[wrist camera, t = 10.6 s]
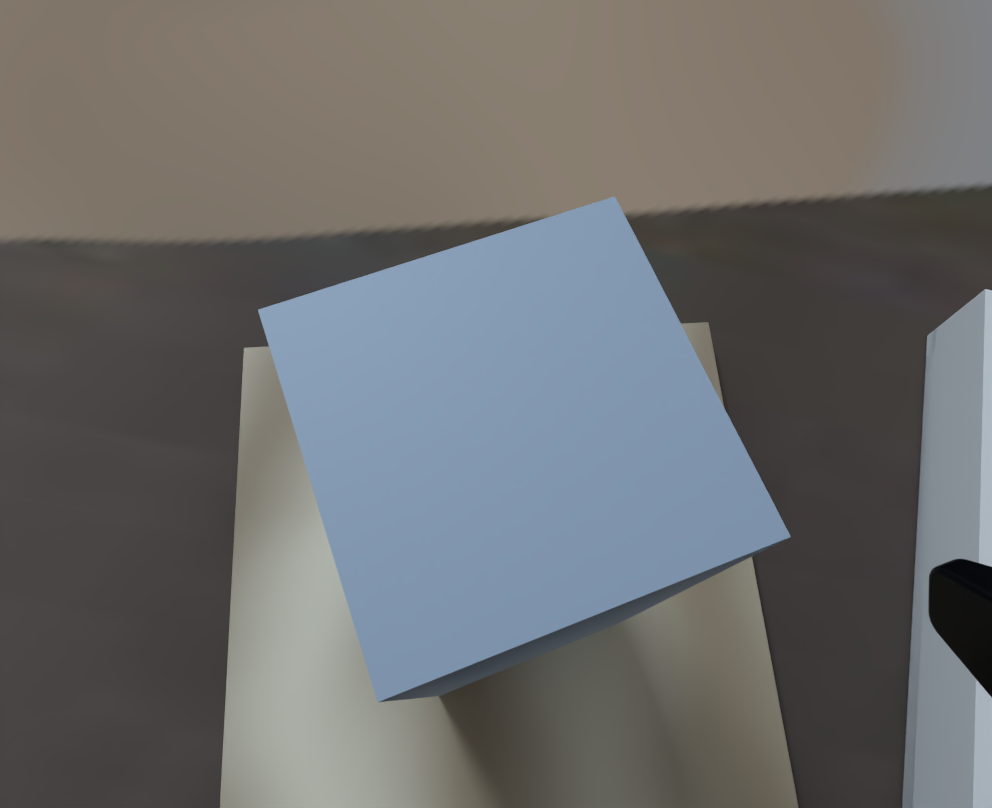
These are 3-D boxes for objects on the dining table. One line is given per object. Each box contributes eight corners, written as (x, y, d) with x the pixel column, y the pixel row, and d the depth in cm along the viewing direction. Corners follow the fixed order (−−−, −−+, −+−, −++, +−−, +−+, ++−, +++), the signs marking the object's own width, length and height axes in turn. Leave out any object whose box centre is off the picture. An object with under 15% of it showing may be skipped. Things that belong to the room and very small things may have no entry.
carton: (623, 621, 20) (803, 532, 9) (438, 696, 19) (377, 701, 8) (551, 451, 22) (625, 192, 10) (378, 514, 21) (258, 310, 10)
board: (699, 336, 24) (707, 322, 23) (789, 837, 19) (805, 844, 18) (253, 361, 24) (243, 347, 23) (228, 883, 19) (215, 893, 18)
